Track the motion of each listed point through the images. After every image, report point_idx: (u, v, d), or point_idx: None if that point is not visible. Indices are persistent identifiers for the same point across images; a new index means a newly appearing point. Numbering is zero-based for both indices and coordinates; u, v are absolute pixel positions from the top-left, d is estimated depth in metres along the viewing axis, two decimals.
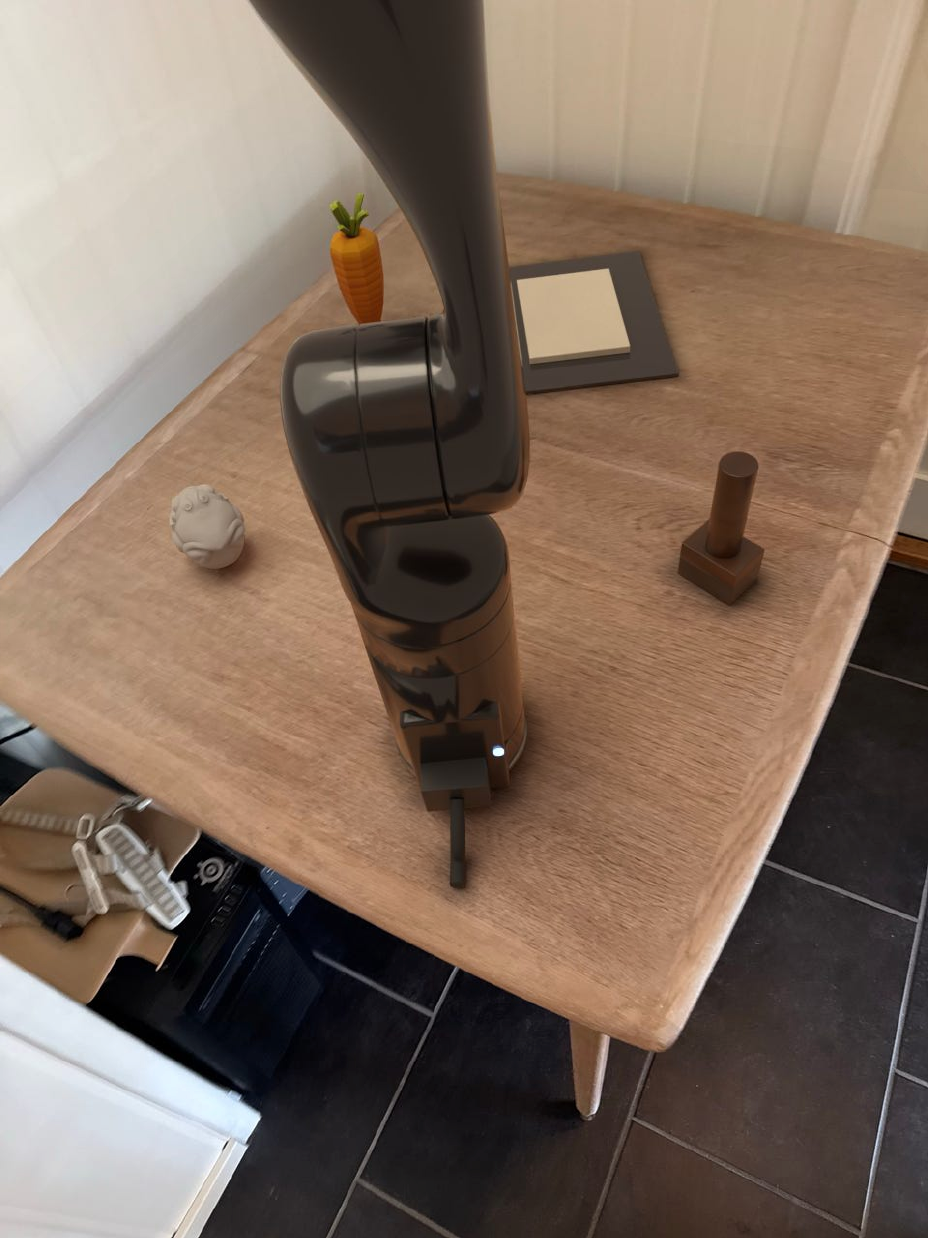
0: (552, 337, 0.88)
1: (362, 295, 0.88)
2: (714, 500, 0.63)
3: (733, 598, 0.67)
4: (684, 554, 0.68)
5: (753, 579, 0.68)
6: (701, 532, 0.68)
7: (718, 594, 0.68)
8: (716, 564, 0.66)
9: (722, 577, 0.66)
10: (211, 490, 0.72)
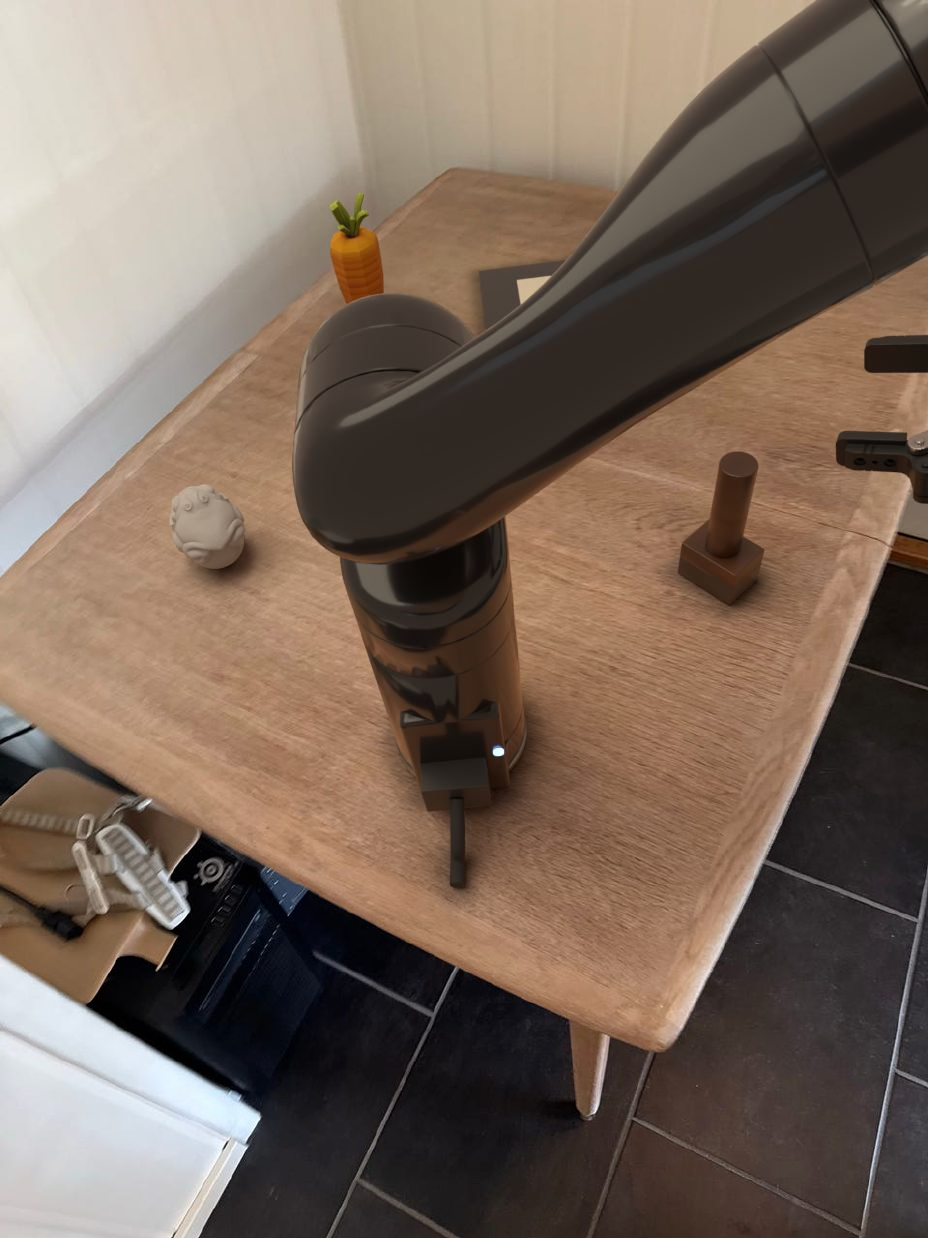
0: None
1: (362, 295, 0.88)
2: (714, 500, 0.63)
3: (733, 598, 0.67)
4: (684, 554, 0.68)
5: (753, 579, 0.68)
6: (701, 532, 0.68)
7: (718, 594, 0.68)
8: (716, 564, 0.66)
9: (722, 577, 0.66)
10: (211, 490, 0.72)
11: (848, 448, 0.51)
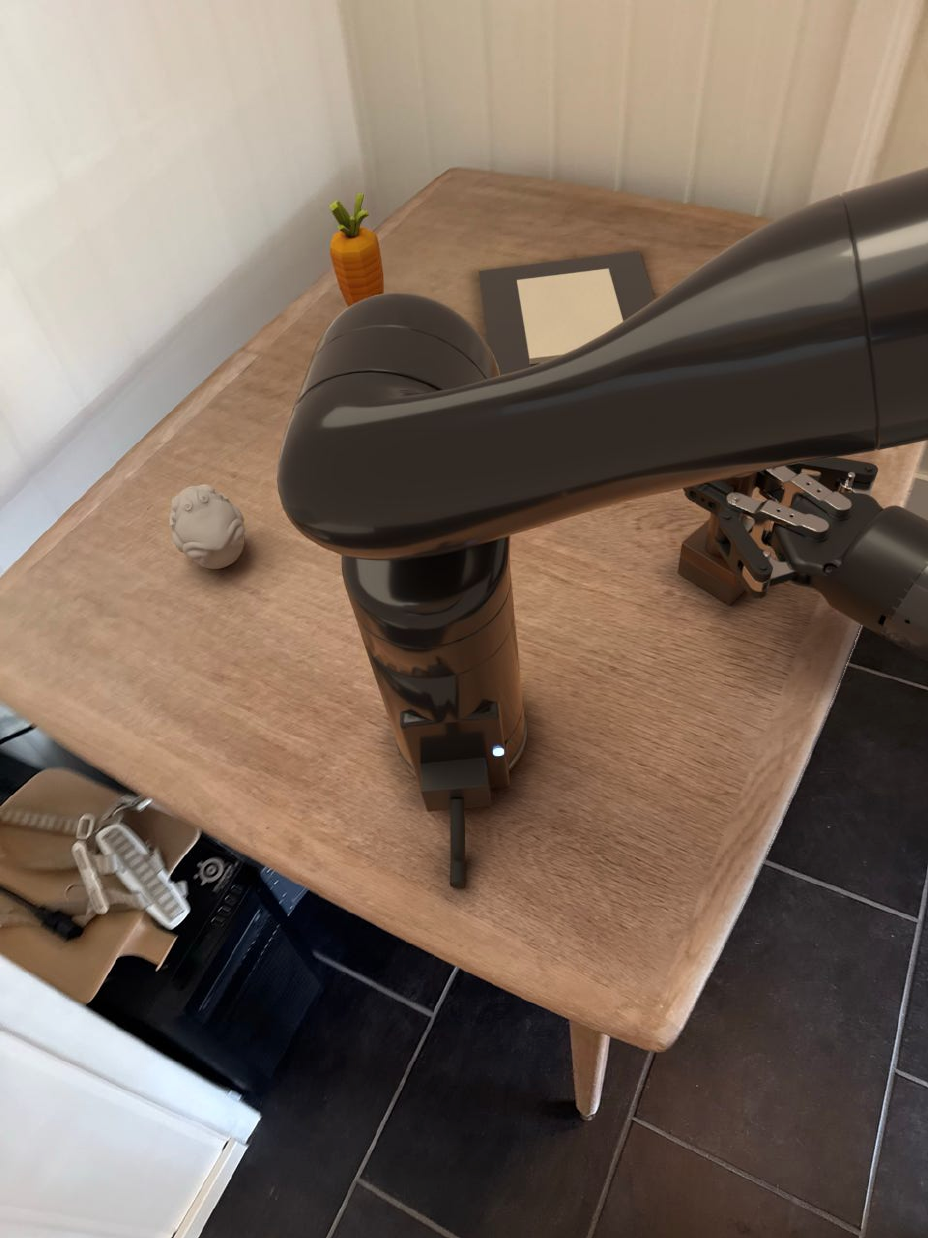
0: (552, 337, 0.88)
1: (362, 295, 0.88)
2: None
3: (733, 598, 0.67)
4: (684, 554, 0.68)
5: None
6: (701, 532, 0.68)
7: (718, 594, 0.68)
8: (716, 564, 0.66)
9: (723, 577, 0.66)
10: (211, 490, 0.72)
11: None
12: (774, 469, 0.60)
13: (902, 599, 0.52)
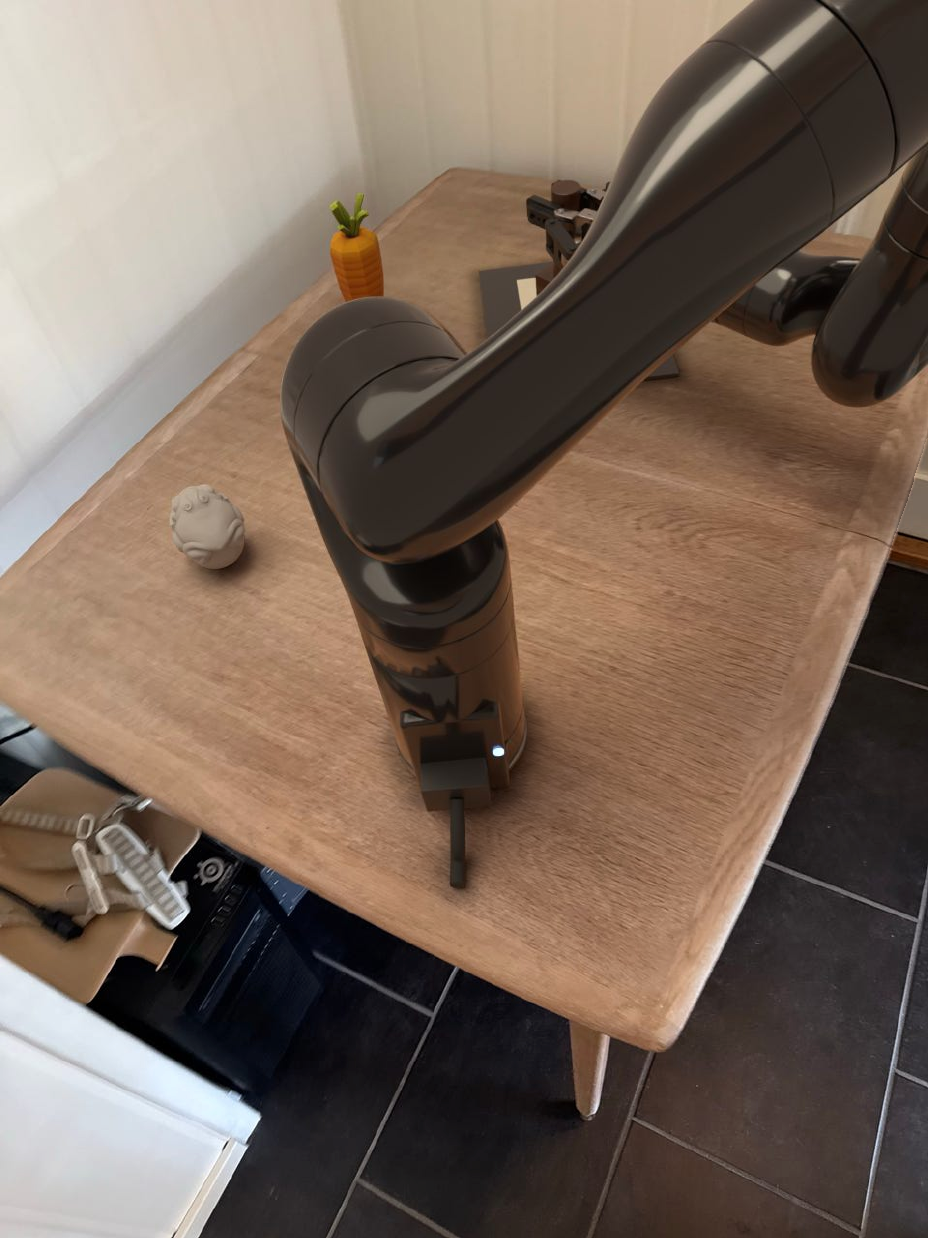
0: None
1: (362, 295, 0.88)
2: None
3: None
4: (538, 285, 0.84)
5: None
6: (551, 267, 0.84)
7: None
8: None
9: None
10: (211, 490, 0.72)
11: (529, 205, 0.78)
12: (594, 192, 0.77)
13: None
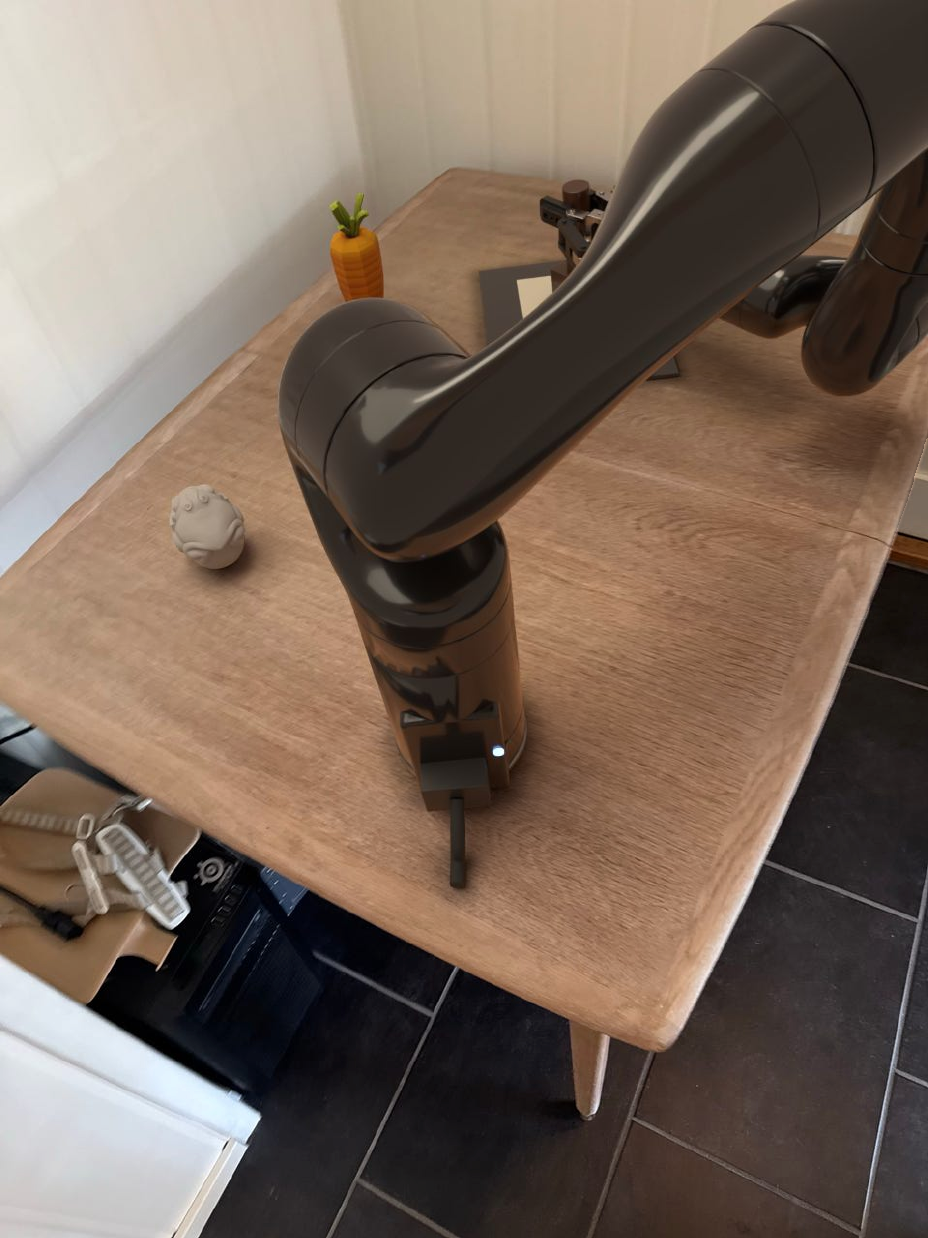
0: None
1: (362, 295, 0.88)
2: None
3: None
4: (553, 279, 0.90)
5: None
6: (566, 262, 0.90)
7: None
8: None
9: None
10: (211, 490, 0.72)
11: (542, 205, 0.84)
12: (603, 194, 0.83)
13: None
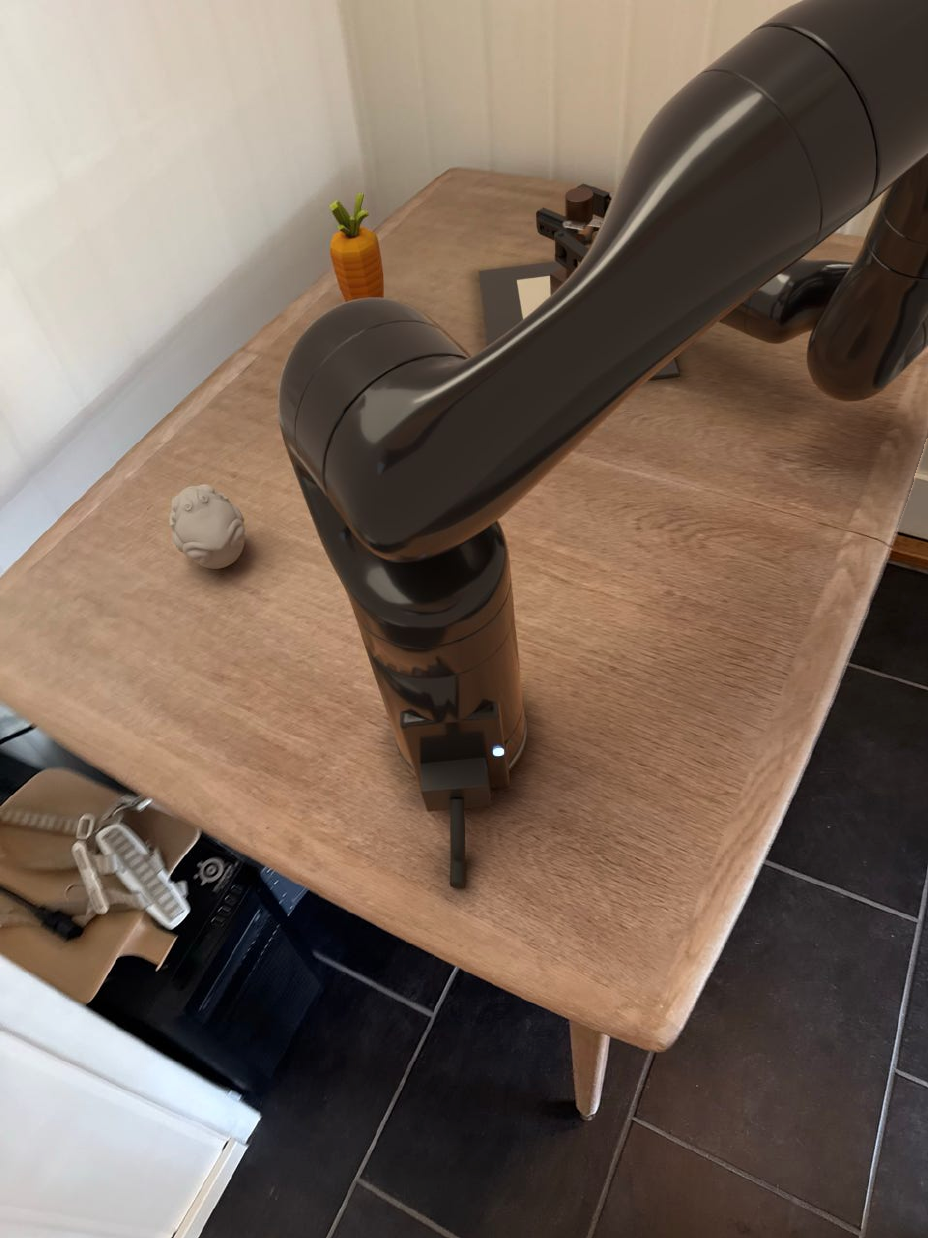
0: None
1: (362, 295, 0.88)
2: None
3: None
4: (552, 284, 0.90)
5: None
6: None
7: None
8: None
9: None
10: (211, 490, 0.72)
11: (539, 217, 0.83)
12: None
13: None
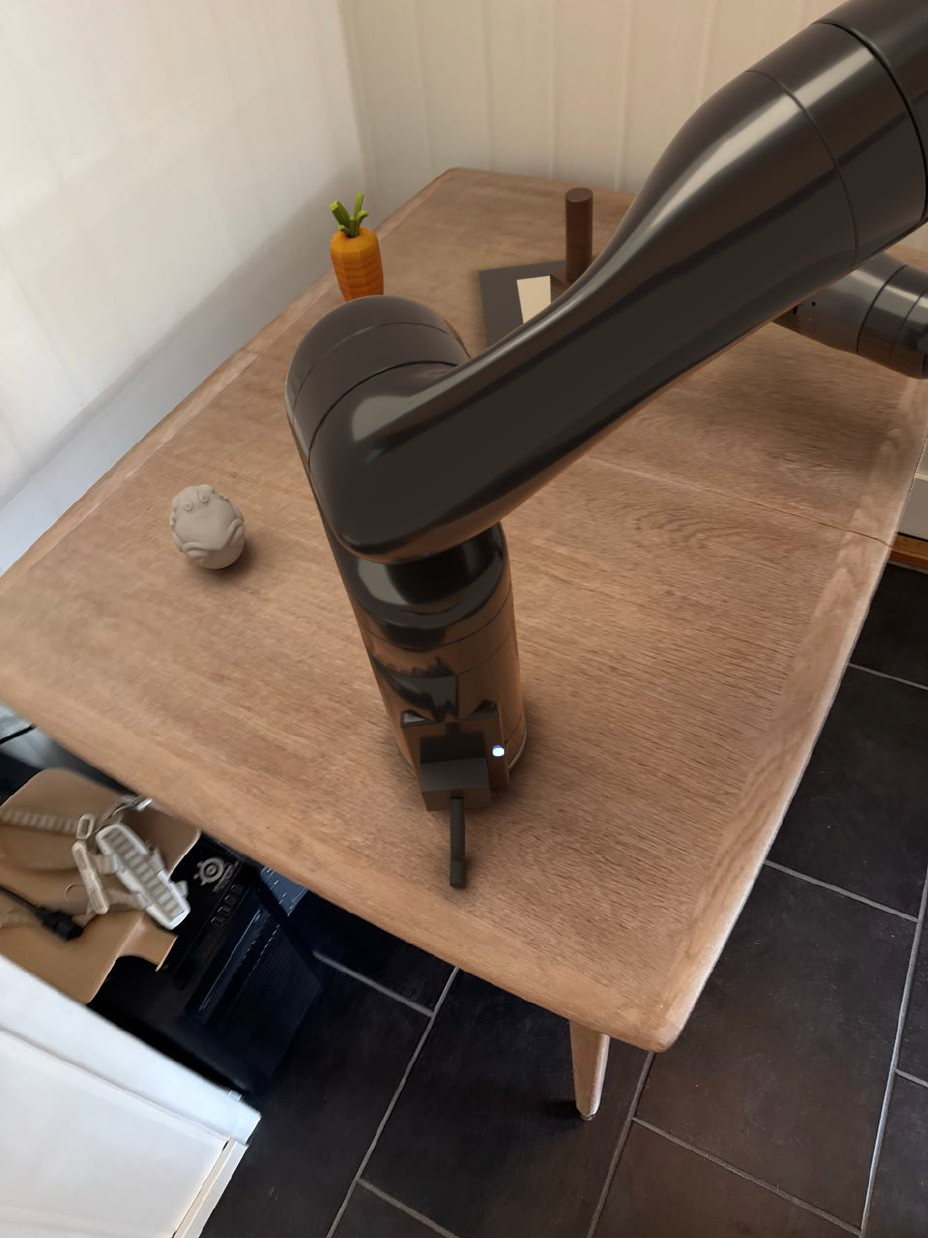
0: None
1: (362, 295, 0.88)
2: (565, 228, 0.84)
3: None
4: (552, 284, 0.90)
5: None
6: None
7: None
8: (569, 286, 0.87)
9: None
10: (211, 490, 0.72)
11: None
12: None
13: None
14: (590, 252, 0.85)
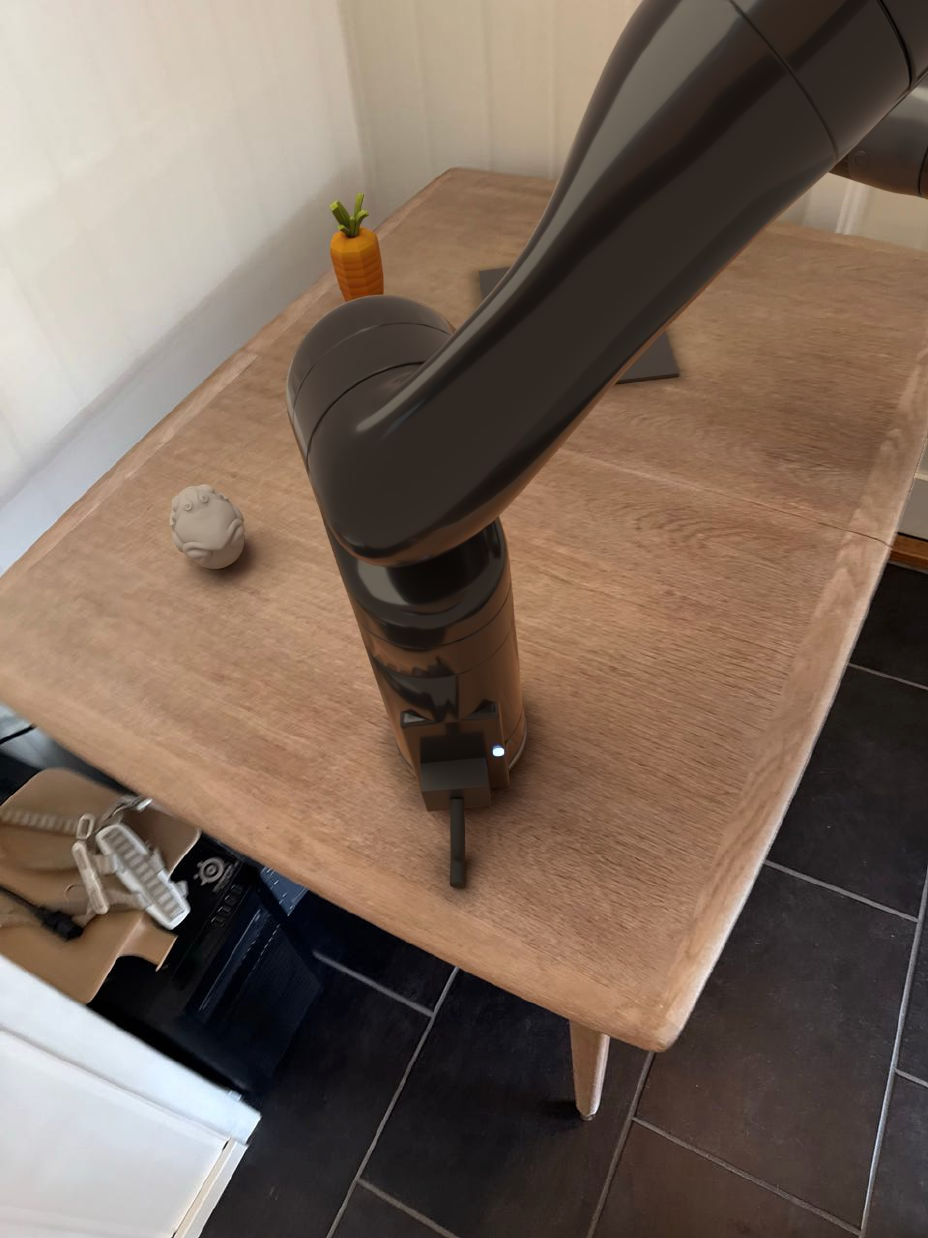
0: None
1: (362, 295, 0.88)
2: None
3: None
4: None
5: None
6: None
7: None
8: None
9: None
10: (211, 490, 0.72)
11: None
12: None
13: None
14: None
